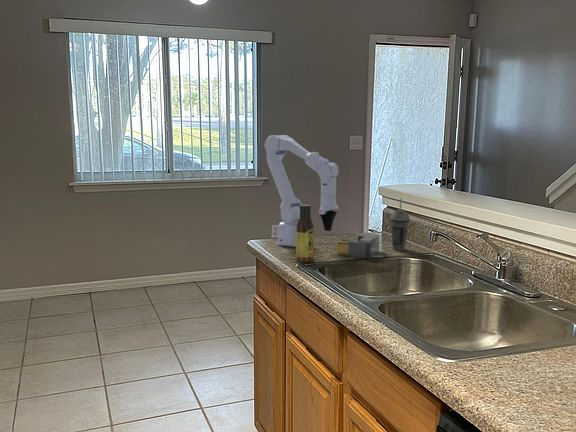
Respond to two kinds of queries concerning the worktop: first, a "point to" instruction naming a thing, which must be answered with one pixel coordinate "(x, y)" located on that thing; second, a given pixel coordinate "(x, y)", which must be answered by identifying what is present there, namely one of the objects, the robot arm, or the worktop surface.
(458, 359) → the worktop surface
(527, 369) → the worktop surface
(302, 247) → the sauce bottle
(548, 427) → the worktop surface
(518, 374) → the worktop surface
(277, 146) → the robot arm
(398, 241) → the beverage cup
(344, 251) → the block
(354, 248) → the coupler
